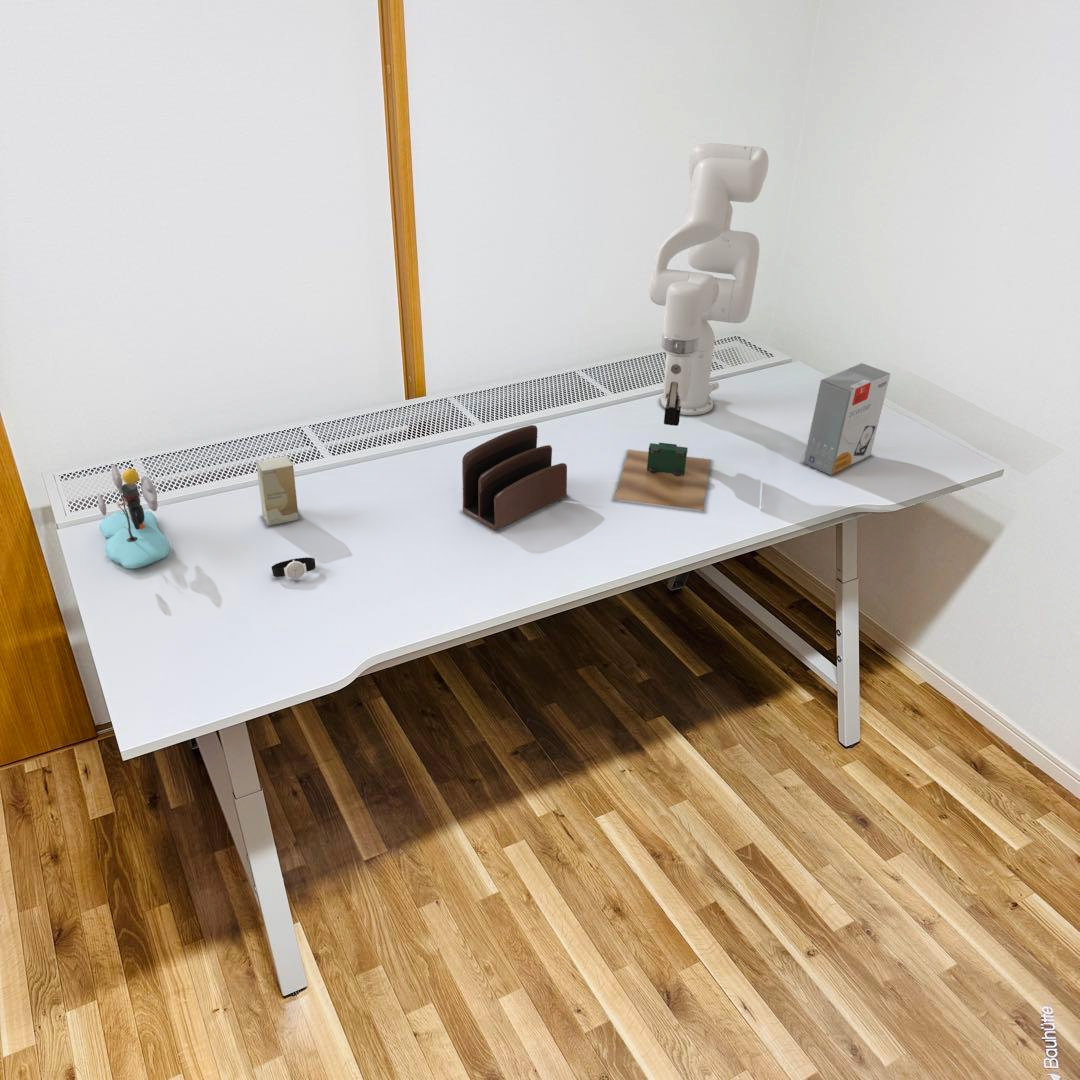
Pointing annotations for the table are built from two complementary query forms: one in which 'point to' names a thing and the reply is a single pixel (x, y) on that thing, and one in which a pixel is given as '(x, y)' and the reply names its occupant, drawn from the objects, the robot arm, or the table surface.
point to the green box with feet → (667, 458)
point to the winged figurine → (133, 524)
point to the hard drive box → (846, 418)
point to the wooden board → (663, 483)
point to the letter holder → (510, 478)
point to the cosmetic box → (277, 490)
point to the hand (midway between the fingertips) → (671, 423)
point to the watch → (293, 567)
